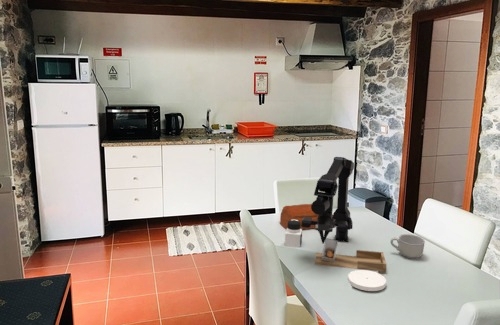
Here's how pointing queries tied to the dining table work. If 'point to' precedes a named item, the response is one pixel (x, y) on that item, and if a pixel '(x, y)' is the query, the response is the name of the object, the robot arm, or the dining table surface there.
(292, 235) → the medicine bottle
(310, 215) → the bread
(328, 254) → the ball
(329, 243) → the brushed metal u-channel
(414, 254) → the teacup
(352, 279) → the plastic lid
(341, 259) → the serving board
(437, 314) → the dining table surface
